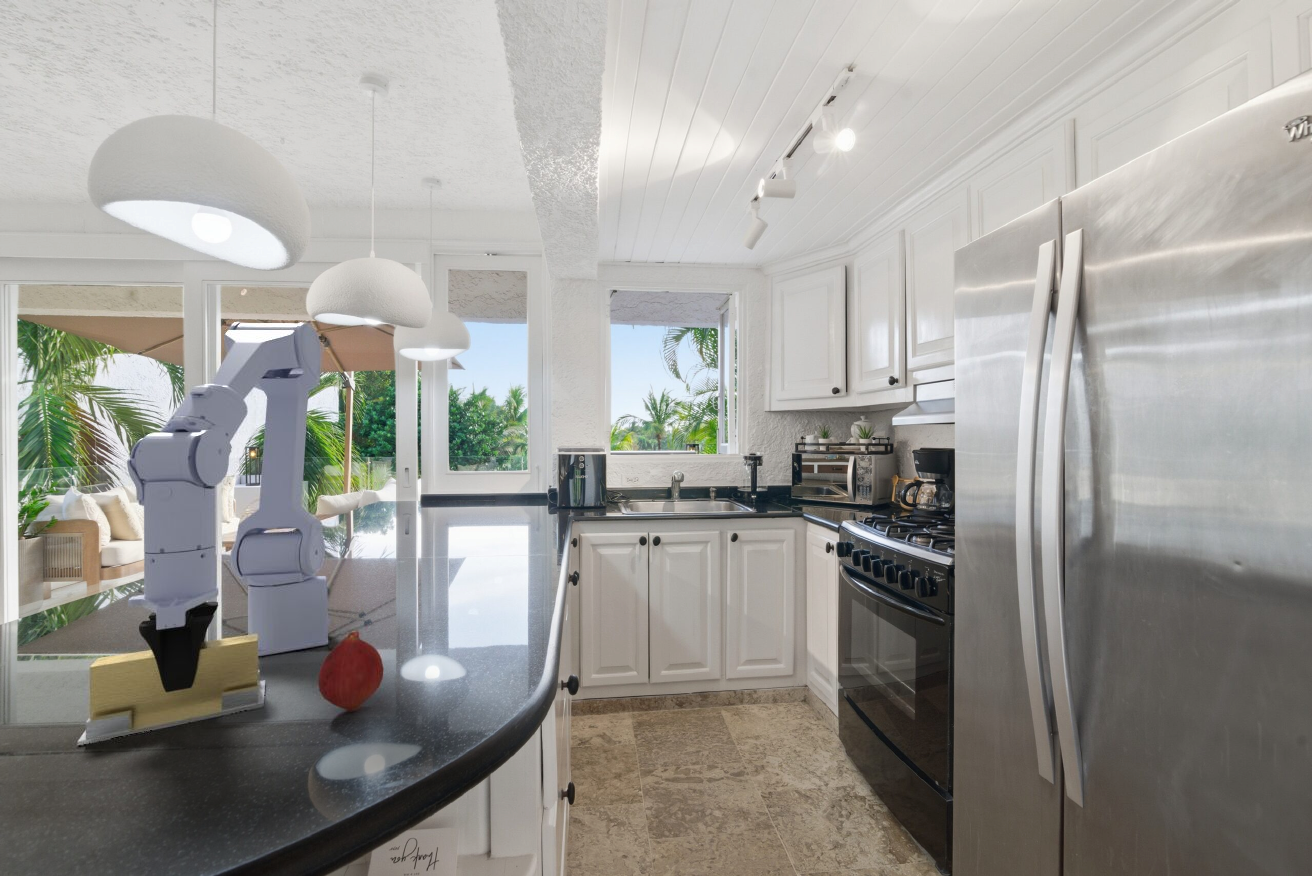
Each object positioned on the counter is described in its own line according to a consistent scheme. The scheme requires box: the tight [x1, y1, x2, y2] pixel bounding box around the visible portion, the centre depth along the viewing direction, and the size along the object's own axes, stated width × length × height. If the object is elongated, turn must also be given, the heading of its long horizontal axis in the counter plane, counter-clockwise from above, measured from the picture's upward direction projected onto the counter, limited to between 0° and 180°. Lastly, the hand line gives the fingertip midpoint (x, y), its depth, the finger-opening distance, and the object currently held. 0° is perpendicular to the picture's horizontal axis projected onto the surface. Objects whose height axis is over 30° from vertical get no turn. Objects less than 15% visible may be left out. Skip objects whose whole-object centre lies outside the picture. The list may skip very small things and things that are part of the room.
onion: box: [317, 630, 384, 712], centre depth 59 cm, size 6×6×8 cm
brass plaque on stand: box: [89, 634, 259, 723], centre depth 60 cm, size 13×3×6 cm, turn 123°
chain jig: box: [77, 669, 266, 746], centre depth 60 cm, size 14×8×2 cm, turn 123°
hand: (181, 683), depth 60 cm, fingers closed on brass plaque on stand, 3 cm apart
